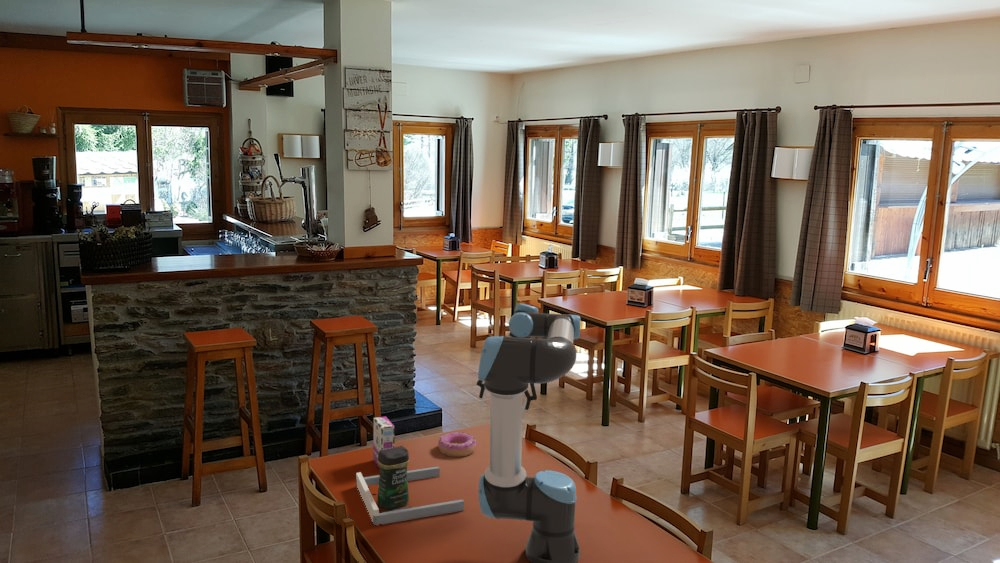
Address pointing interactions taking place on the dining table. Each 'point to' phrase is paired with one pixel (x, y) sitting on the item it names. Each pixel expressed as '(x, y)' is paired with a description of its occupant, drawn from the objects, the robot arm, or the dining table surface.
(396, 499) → the coffee jar
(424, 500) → the dining table surface
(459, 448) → the donut
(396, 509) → the trap pads
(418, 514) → the channel
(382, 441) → the candy bar box
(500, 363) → the robot arm
